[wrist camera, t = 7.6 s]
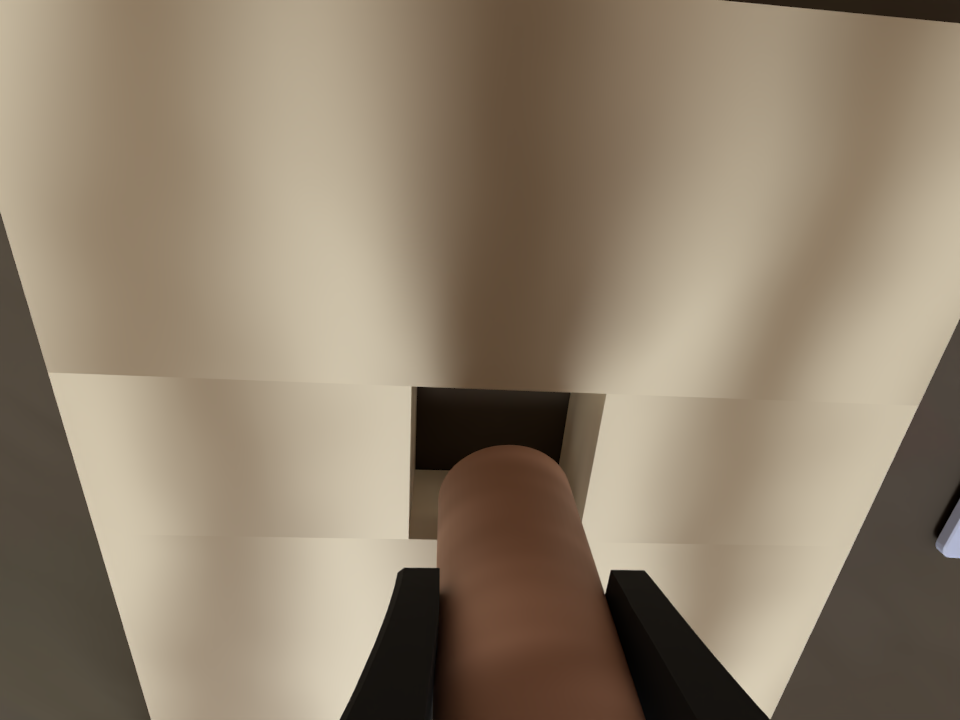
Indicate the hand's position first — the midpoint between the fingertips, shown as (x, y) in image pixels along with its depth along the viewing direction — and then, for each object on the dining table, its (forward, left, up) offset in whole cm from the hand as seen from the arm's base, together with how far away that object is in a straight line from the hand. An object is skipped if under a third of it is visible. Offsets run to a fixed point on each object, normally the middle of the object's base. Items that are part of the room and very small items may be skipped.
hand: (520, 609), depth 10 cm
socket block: (0, 0, -7) cm, 7 cm away
